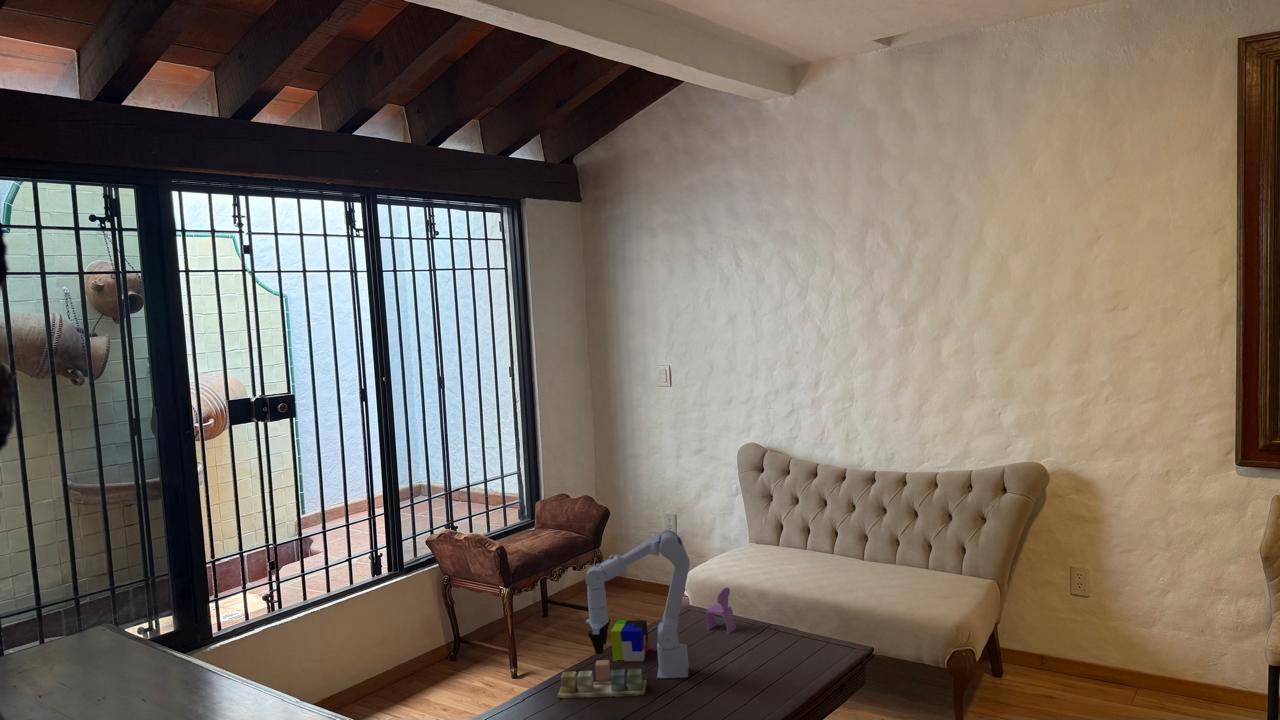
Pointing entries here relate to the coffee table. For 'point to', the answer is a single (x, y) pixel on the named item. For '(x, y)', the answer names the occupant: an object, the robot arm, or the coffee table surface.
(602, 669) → the terracotta block
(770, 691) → the coffee table surface
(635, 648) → the puzzle toy
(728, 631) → the toy chair
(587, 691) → the rack
